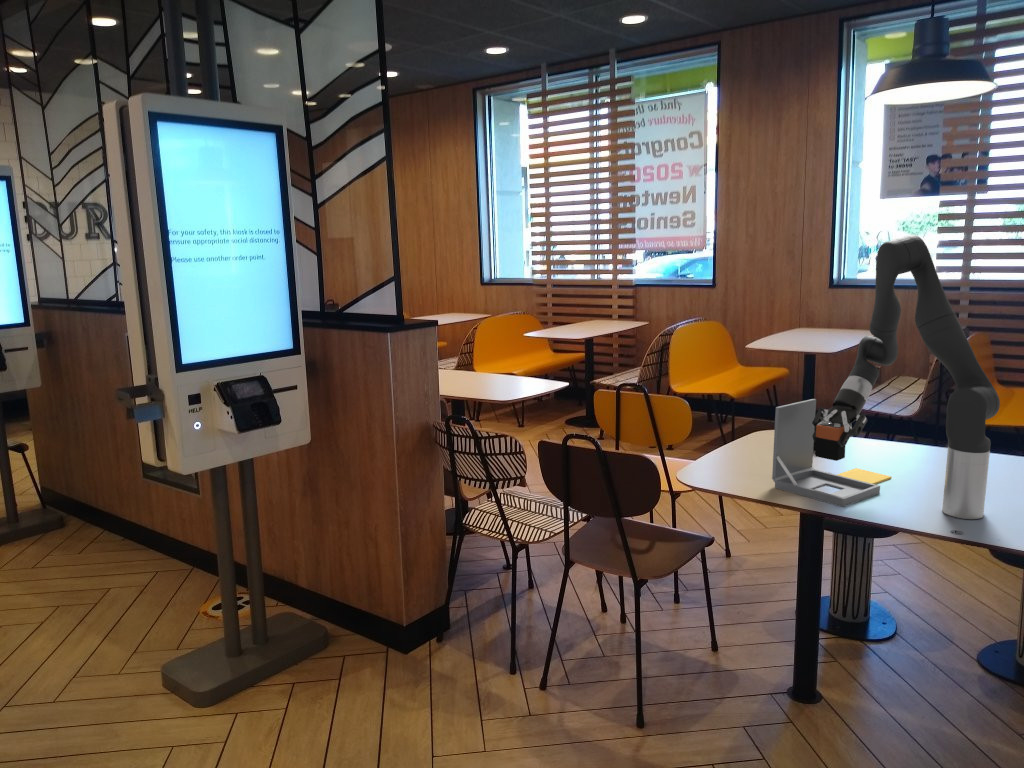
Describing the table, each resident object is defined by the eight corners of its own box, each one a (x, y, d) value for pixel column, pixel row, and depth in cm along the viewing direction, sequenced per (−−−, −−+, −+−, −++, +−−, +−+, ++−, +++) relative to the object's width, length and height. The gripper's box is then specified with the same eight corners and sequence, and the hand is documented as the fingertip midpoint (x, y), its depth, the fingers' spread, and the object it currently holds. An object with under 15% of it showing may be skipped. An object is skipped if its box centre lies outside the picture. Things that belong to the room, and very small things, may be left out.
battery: (822, 453, 225) (824, 419, 223) (845, 458, 220) (847, 423, 218) (814, 456, 222) (815, 421, 221) (837, 461, 217) (838, 425, 215)
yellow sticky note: (856, 470, 242) (856, 468, 241) (891, 478, 233) (891, 476, 233) (835, 476, 235) (835, 474, 235) (871, 485, 226) (871, 483, 226)
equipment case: (808, 475, 237) (813, 398, 233) (879, 493, 220) (885, 411, 216) (771, 486, 227) (775, 407, 222) (843, 507, 209) (848, 421, 205)
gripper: (824, 384, 228) (799, 430, 223) (872, 391, 216) (846, 440, 212) (834, 400, 232) (809, 445, 227) (882, 407, 220) (856, 455, 216)
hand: (827, 442), depth 219 cm, fingers closed on battery, 7 cm apart
